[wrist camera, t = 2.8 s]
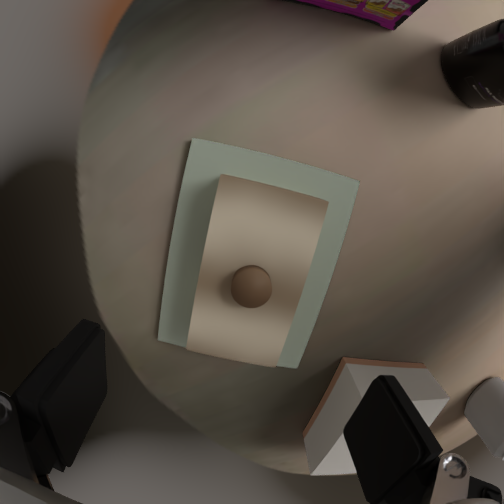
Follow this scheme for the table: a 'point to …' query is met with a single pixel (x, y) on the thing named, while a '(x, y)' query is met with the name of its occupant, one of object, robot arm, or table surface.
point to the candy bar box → (371, 9)
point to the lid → (253, 270)
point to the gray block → (348, 398)
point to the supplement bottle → (477, 66)
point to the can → (488, 414)
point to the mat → (197, 223)
